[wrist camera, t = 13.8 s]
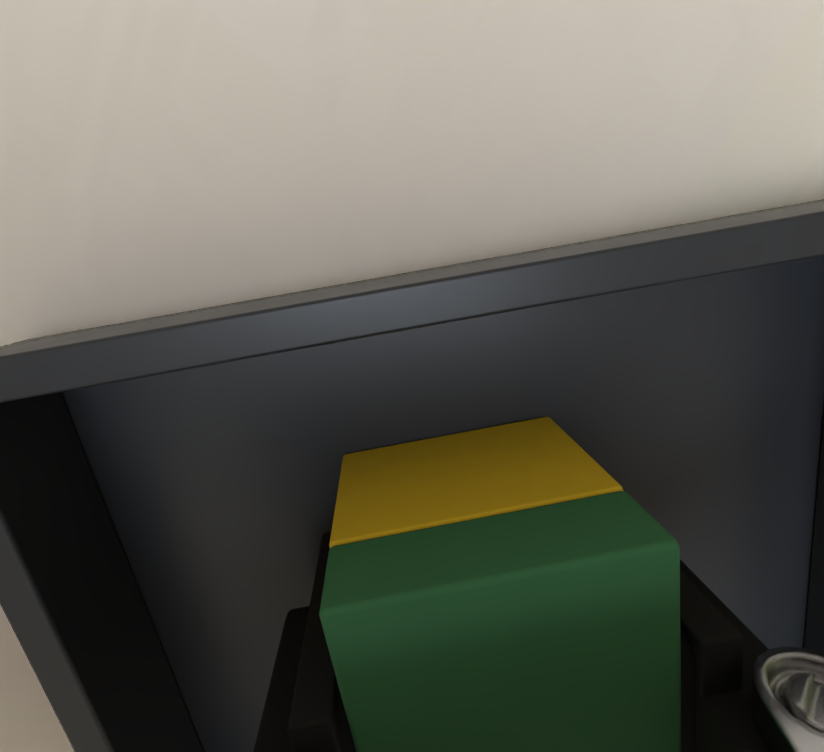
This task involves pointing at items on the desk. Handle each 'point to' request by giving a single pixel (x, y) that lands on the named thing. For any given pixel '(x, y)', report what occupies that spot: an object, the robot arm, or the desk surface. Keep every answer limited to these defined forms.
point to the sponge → (500, 600)
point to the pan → (391, 425)
